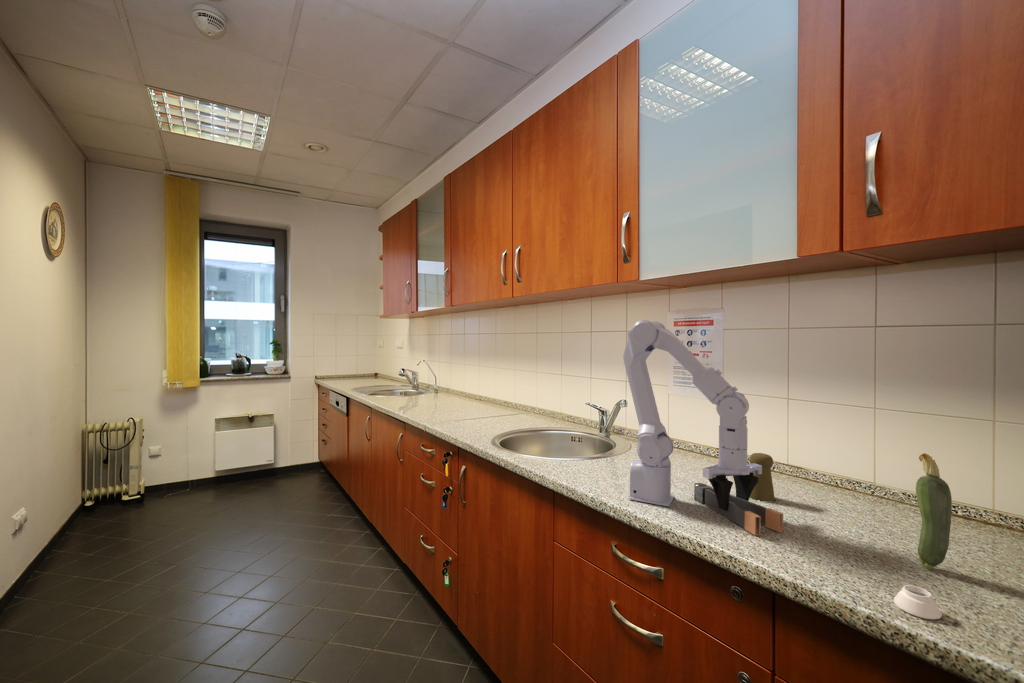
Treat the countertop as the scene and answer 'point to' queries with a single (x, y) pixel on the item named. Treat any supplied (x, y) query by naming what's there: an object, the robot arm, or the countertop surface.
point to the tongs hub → (700, 492)
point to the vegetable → (933, 514)
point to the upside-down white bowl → (917, 602)
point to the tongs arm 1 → (735, 513)
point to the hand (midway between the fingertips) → (732, 507)
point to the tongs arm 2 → (761, 513)
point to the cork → (763, 478)
